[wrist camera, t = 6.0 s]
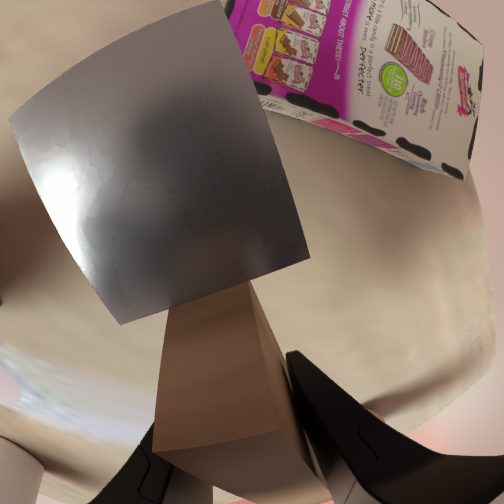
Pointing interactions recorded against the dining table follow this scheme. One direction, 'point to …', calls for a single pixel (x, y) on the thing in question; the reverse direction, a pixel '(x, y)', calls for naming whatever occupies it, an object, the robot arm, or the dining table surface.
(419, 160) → the candy bar box
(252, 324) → the turner
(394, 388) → the dining table surface
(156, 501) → the robot arm
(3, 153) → the dining table surface
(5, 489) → the cylinder vase
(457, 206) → the dining table surface
